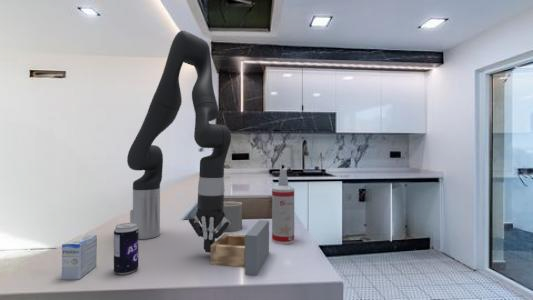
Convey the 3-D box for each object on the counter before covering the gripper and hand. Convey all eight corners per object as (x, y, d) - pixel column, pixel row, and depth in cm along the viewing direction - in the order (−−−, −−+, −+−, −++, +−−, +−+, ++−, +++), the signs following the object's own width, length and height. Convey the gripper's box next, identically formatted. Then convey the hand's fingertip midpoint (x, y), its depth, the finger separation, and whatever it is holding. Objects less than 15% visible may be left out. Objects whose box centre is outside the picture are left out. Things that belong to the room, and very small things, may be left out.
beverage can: (128, 277, 70) (128, 228, 70) (108, 275, 71) (108, 227, 71) (143, 268, 75) (143, 222, 76) (124, 266, 77) (124, 221, 77)
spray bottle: (282, 236, 104) (282, 167, 104) (298, 240, 99) (298, 168, 99) (267, 241, 98) (267, 168, 98) (283, 246, 93) (283, 169, 93)
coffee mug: (241, 225, 120) (241, 201, 120) (242, 231, 110) (242, 205, 110) (209, 226, 118) (209, 201, 118) (207, 232, 108) (207, 206, 108)
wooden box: (210, 264, 78) (210, 245, 78) (224, 250, 88) (224, 234, 89) (249, 267, 76) (249, 248, 76) (259, 252, 86) (259, 236, 86)
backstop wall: (245, 275, 71) (245, 235, 71) (259, 252, 87) (259, 220, 87) (256, 276, 71) (256, 235, 71) (269, 253, 86) (269, 220, 86)
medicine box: (79, 267, 76) (79, 234, 76) (97, 266, 77) (97, 234, 77) (61, 280, 68) (61, 244, 68) (80, 279, 69) (80, 243, 69)
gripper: (184, 192, 81) (182, 253, 81) (228, 196, 78) (226, 258, 78) (195, 189, 88) (194, 244, 88) (236, 192, 86) (234, 249, 86)
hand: (209, 251), depth 83 cm, fingers closed
